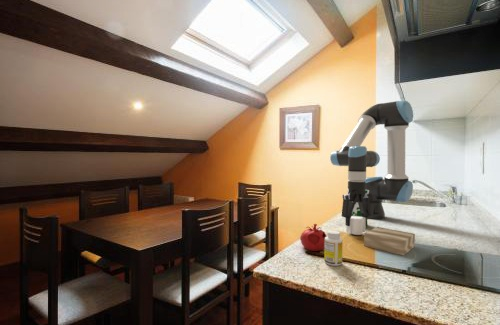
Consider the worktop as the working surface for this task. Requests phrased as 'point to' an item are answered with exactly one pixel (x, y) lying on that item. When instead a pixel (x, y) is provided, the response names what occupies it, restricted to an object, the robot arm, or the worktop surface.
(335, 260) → the supplement bottle
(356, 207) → the milk carton
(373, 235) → the wooden base
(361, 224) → the white cup
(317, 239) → the pomegranate
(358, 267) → the worktop surface
